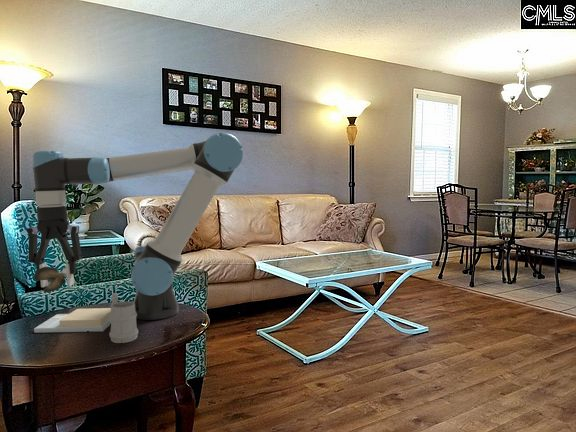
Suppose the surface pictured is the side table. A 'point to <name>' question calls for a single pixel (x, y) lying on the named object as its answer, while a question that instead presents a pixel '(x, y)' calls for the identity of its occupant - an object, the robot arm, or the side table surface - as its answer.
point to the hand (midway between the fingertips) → (57, 285)
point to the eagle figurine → (51, 278)
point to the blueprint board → (82, 329)
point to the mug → (122, 321)
